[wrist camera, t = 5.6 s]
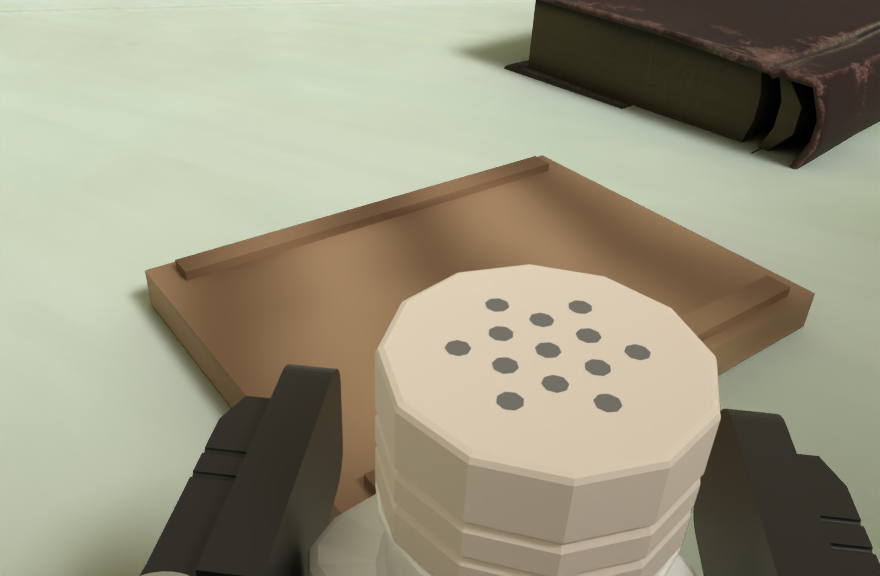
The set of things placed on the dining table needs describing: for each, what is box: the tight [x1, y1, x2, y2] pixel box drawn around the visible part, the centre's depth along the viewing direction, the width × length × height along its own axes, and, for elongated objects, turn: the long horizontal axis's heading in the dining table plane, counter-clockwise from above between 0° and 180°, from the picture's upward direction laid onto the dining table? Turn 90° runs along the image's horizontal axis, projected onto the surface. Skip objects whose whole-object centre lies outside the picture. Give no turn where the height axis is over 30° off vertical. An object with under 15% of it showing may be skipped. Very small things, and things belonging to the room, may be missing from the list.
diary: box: [504, 0, 880, 169], centre depth 47 cm, size 19×25×5 cm
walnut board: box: [145, 156, 815, 527], centre depth 24 cm, size 16×12×2 cm
